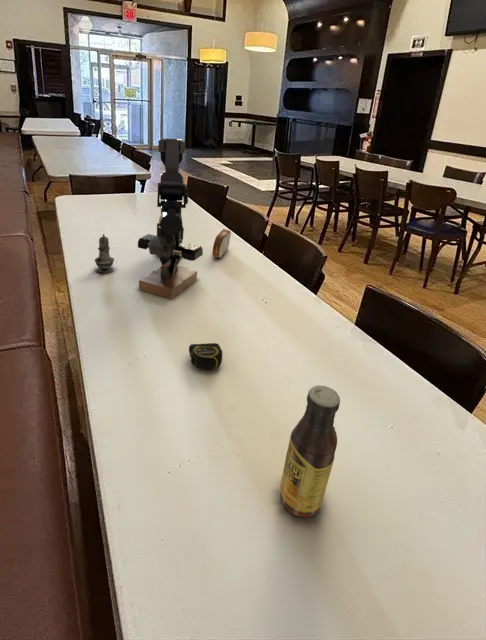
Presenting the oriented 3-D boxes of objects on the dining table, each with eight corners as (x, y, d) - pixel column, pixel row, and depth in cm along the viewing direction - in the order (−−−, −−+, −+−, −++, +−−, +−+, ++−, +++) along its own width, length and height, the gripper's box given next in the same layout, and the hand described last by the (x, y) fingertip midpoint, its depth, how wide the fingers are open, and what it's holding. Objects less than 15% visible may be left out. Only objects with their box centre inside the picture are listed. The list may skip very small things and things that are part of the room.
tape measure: (218, 354, 93) (219, 339, 91) (224, 373, 86) (225, 358, 85) (188, 355, 91) (189, 340, 90) (191, 375, 85) (192, 359, 84)
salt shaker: (117, 267, 132) (116, 232, 128) (110, 275, 127) (109, 238, 122) (99, 265, 132) (97, 230, 128) (91, 272, 127) (90, 236, 123)
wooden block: (165, 271, 132) (165, 262, 131) (196, 279, 128) (197, 270, 127) (138, 289, 119) (138, 279, 118) (172, 299, 115) (172, 289, 114)
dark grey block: (172, 270, 126) (173, 257, 124) (177, 271, 125) (177, 259, 124) (160, 278, 120) (160, 265, 118) (165, 280, 119) (165, 266, 118)
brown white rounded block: (222, 246, 157) (224, 225, 154) (230, 248, 157) (232, 227, 154) (210, 260, 144) (212, 237, 141) (219, 262, 143) (221, 239, 140)
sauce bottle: (274, 482, 63) (292, 375, 56) (314, 481, 64) (337, 376, 56) (284, 523, 57) (305, 410, 50) (327, 522, 58) (355, 410, 50)
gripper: (126, 224, 113) (126, 276, 119) (186, 237, 106) (183, 292, 112) (148, 215, 122) (148, 263, 128) (205, 227, 116) (201, 277, 122)
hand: (169, 273), depth 122 cm, fingers closed on dark grey block, 2 cm apart
